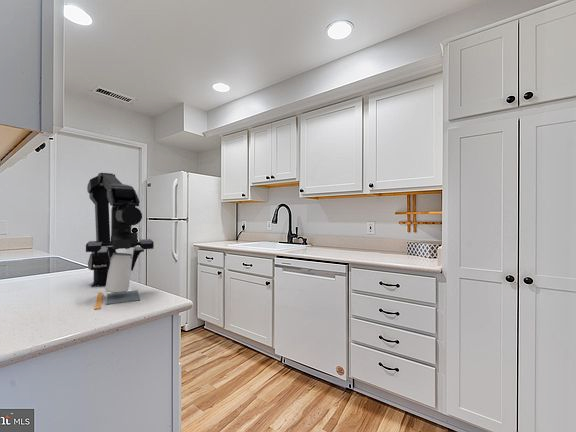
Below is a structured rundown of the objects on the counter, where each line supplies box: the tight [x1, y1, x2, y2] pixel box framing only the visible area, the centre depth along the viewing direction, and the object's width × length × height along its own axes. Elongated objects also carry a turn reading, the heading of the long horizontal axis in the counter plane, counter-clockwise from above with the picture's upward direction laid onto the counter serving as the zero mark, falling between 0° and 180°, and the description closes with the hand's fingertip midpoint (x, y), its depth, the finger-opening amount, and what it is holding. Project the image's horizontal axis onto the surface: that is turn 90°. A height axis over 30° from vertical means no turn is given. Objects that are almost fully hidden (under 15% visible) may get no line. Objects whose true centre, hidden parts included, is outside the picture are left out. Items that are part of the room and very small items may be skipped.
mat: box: [105, 289, 141, 306], centre depth 92 cm, size 12×9×1 cm
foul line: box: [93, 291, 104, 311], centre depth 89 cm, size 18×2×1 cm, turn 31°
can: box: [104, 252, 133, 293], centre depth 93 cm, size 6×6×12 cm
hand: (121, 271), depth 93 cm, fingers closed on can, 6 cm apart
